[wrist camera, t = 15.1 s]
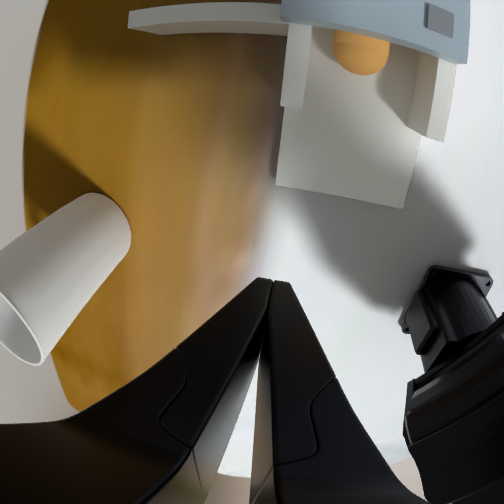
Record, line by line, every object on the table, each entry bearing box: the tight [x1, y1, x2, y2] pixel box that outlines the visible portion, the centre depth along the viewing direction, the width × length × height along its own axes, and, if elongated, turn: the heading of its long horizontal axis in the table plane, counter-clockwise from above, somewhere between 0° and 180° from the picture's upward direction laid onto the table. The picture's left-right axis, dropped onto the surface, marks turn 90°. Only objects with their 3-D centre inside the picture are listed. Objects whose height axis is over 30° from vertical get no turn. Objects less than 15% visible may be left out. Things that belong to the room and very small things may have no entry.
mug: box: [0, 193, 131, 366], centre depth 19 cm, size 10×7×12 cm, turn 157°
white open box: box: [128, 2, 457, 209], centre depth 12 cm, size 16×18×4 cm
